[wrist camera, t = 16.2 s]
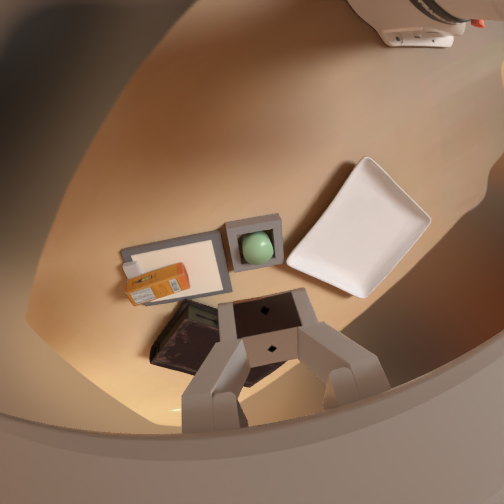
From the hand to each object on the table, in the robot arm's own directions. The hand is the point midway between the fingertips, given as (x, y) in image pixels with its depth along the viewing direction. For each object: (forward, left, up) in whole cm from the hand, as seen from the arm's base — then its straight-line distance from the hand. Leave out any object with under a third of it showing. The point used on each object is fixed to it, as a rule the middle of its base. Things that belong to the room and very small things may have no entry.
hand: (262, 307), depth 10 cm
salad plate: (-21, +19, -31) cm, 42 cm away
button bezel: (-3, +17, -30) cm, 34 cm away
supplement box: (+8, +19, -28) cm, 34 cm away
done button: (-3, +17, -30) cm, 34 cm away
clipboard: (+10, +20, -30) cm, 37 cm away
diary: (+7, +40, -30) cm, 50 cm away
